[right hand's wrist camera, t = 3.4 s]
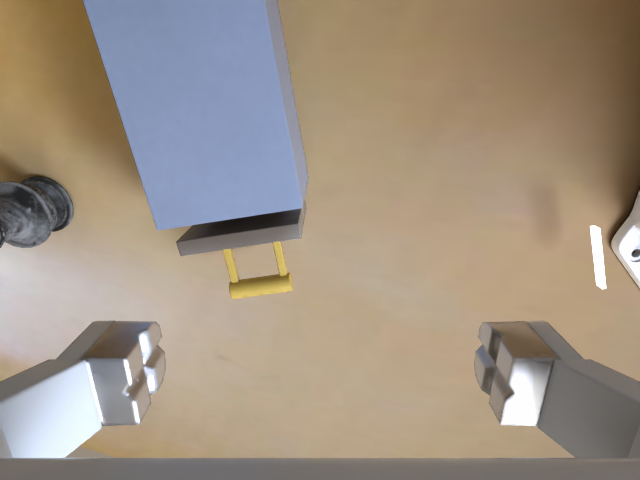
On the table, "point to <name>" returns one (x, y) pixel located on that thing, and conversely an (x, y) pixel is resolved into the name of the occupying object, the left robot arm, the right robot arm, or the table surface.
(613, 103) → the table surface
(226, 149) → the cabinet
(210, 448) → the table surface
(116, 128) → the table surface
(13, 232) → the dark grey chess piece
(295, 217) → the drawer
